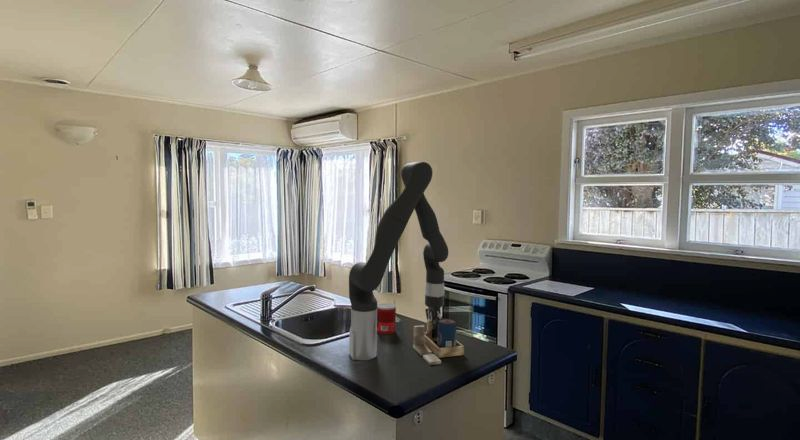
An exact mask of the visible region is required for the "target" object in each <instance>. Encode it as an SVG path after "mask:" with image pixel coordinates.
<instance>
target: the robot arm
mask: <svg viewBox="0 0 800 440" xmlns="http://www.w3.org/2000/svg"><path fill="white" fill-rule="evenodd" d="M400 176H401V179H402V180H401V181H402V183H403V185H404V188H403V190H402V192H401V193H400V195H399V196H398V197H397V198H396V199H395V200H393V202H392V203H391V204H390V205H389V206H388V207H387V208H386V209H385V211H384V212H383V215H382V216H381V219H380V220H379V222H378V225H377V227H376V232H375V239H374V240H375V241H374V247H373V249H372V253H371V254H370V256H369V258H368V260H367V262H361V261H360V262H356V263H355V264H354V265H352V266H351V268H350V270H349V274H348V275H349V276H348V298H349V302H350V309H351V310H350V327H349V335H348V336H349V342H348V343H349V345H348V348H349V350H348V353H349V356H350V358H351V360H353V361H357V360H358V361H370V360H373V359H375V358H376V357H377V352H378V351H377V350H378V349H377V341H378V340H377V337H378V336H377V335H378V332H377V305H378V300H377V298H376V297H375V294H374V292H373V291H375V290H377V289H378V288H379V286H380V285H381V282H382V281H383V279H384V275H385V273H386V270H387V268H388V265H389V262H390V259H391V257H392V255H393V254H394V251H395V249H396V247H397V245H398V243H399V241H400V239H401V237H402V235H403V233H404V231H405V229H406V227H407V225H408V223H409V220H410V218H411V217H412V215H413V213H414V212H415V215H416V216H417V217H416V219H417V221H418V224H419V228H420V234H421V236H422V238H423V239H424V240H426V241H427V242H428V243H427V244H426V245H425V246H424V248H423V253H422V255H423V256H422V257H423V262H424V268H425V270H426V271H425V272H426V273H425V274H426V276H425V278H426V279H425V287H424V288H425V289H424V291H425V292H424V305H425V306H426V307H427V308H425V317H426V320H427V319H431V323H432V338H437V330H438V323H439V320H440V319H444V316H441V313H442V312H441V308H442V307H444V305H445V271H444V268H443V267H442V266H441V265H440V263H443V262H446V260H447V259H448V257H449V247H448V244H447V242H446V240H445V239H444V236H443V234H442V233H441V231H440V226H439V223H438V222H439V221H438V218H437V216H436V213H435V211H434V209H433V208H432V206H431V204H430V203H429V202H428V200H427V197H426V195H425V192H426V190H427V188H428V187H429V185H430V183H431V181H432V177H433V168H432V166H431V165H430V164H429V163H428V162H426V161H415V162H414V161H413V162H409V163H405V164H404V165H403V166H402V169H401V172H400ZM434 323H435V324H434Z"/></svg>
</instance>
